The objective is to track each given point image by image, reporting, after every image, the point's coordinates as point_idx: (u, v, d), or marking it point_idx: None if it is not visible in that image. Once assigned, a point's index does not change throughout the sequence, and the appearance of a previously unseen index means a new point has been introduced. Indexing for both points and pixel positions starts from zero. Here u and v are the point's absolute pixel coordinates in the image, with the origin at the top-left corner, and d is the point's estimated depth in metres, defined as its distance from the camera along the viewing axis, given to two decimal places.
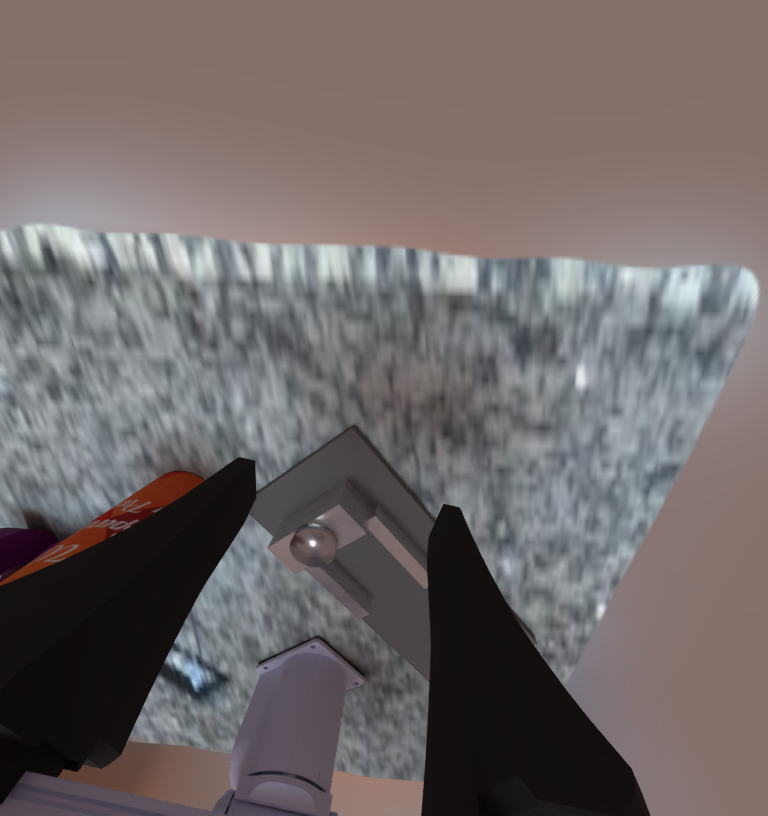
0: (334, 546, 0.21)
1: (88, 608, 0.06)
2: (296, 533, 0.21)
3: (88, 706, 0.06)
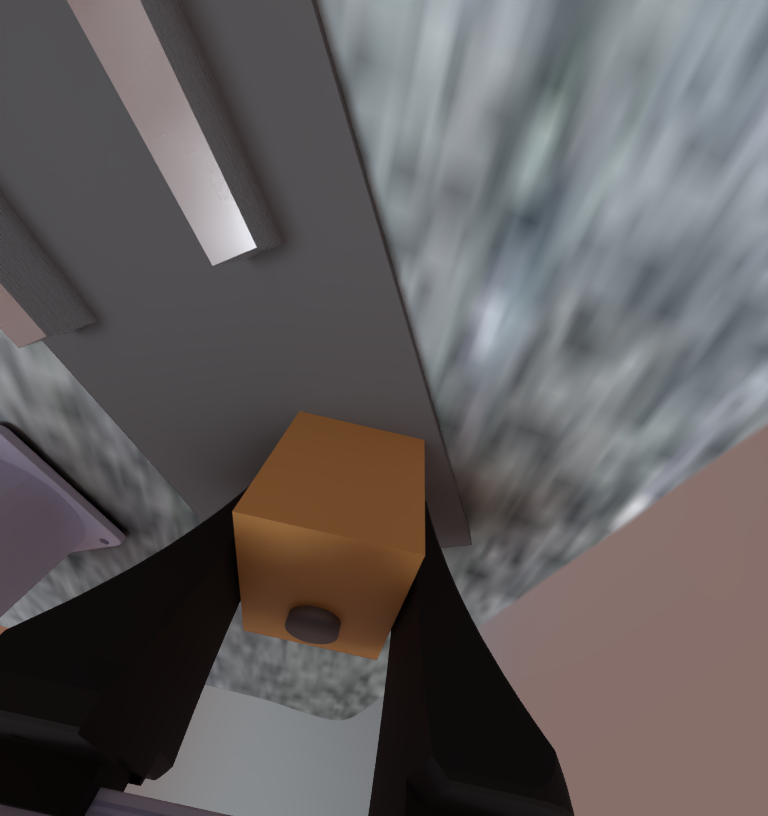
0: None
1: (157, 623, 0.06)
2: None
3: (152, 720, 0.06)
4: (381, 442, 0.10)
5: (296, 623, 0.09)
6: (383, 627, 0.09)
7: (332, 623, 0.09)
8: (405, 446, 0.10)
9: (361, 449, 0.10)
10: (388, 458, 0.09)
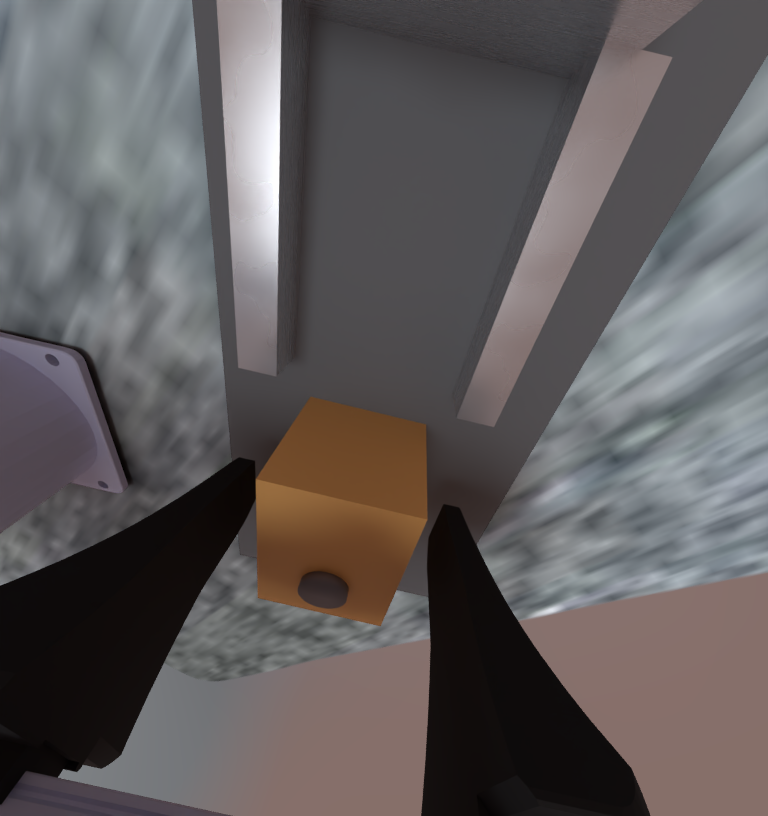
0: None
1: (88, 608, 0.06)
2: None
3: (88, 706, 0.06)
4: (386, 425, 0.11)
5: (308, 587, 0.10)
6: (387, 592, 0.10)
7: (341, 587, 0.09)
8: (408, 429, 0.11)
9: (368, 431, 0.10)
10: (393, 439, 0.10)
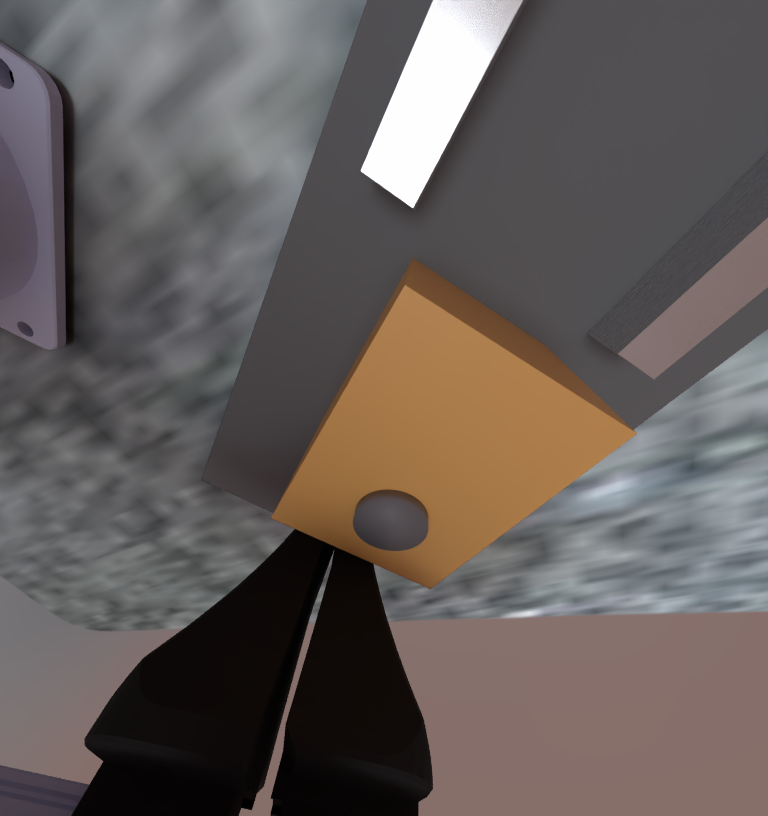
0: None
1: (277, 650, 0.06)
2: None
3: (265, 745, 0.06)
4: (510, 325, 0.08)
5: (377, 511, 0.06)
6: (479, 541, 0.07)
7: (427, 520, 0.06)
8: (534, 340, 0.08)
9: (498, 319, 0.07)
10: (528, 340, 0.07)
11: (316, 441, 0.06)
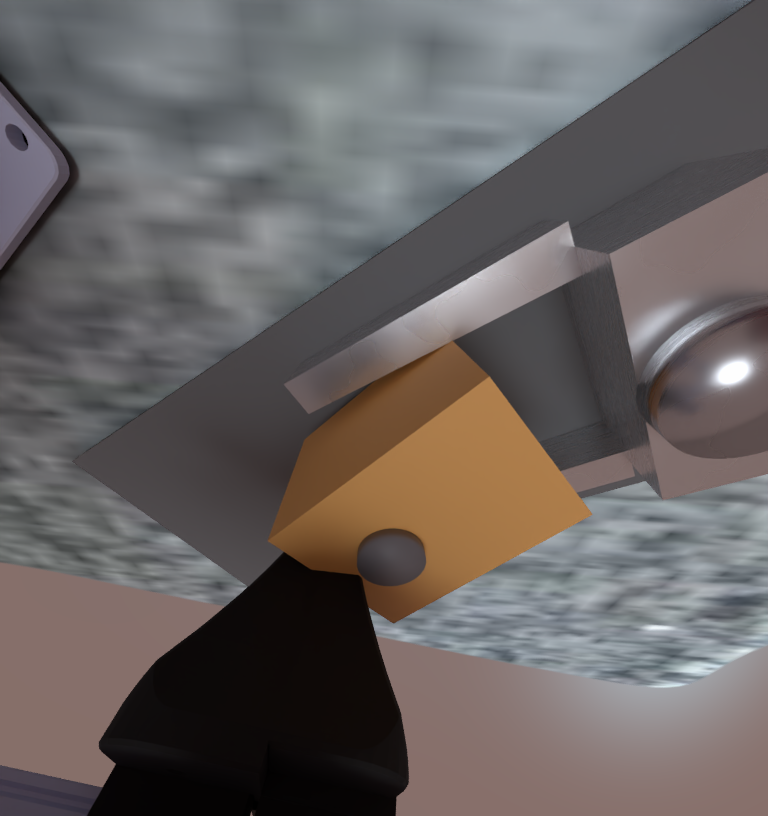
0: (724, 458, 0.06)
1: (288, 653, 0.06)
2: None
3: None
4: None
5: (387, 548, 0.07)
6: (454, 583, 0.08)
7: (425, 561, 0.07)
8: None
9: None
10: None
11: (356, 476, 0.06)
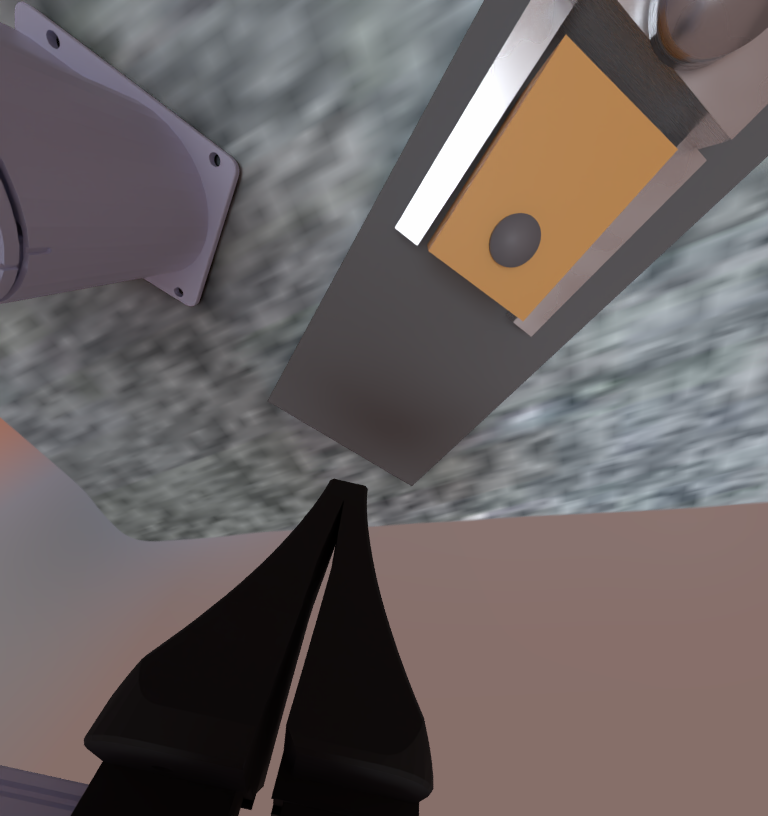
0: (750, 41, 0.08)
1: (276, 650, 0.06)
2: None
3: (265, 745, 0.06)
4: None
5: (510, 225, 0.10)
6: (566, 263, 0.11)
7: (540, 234, 0.10)
8: None
9: None
10: None
11: (481, 168, 0.10)
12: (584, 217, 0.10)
